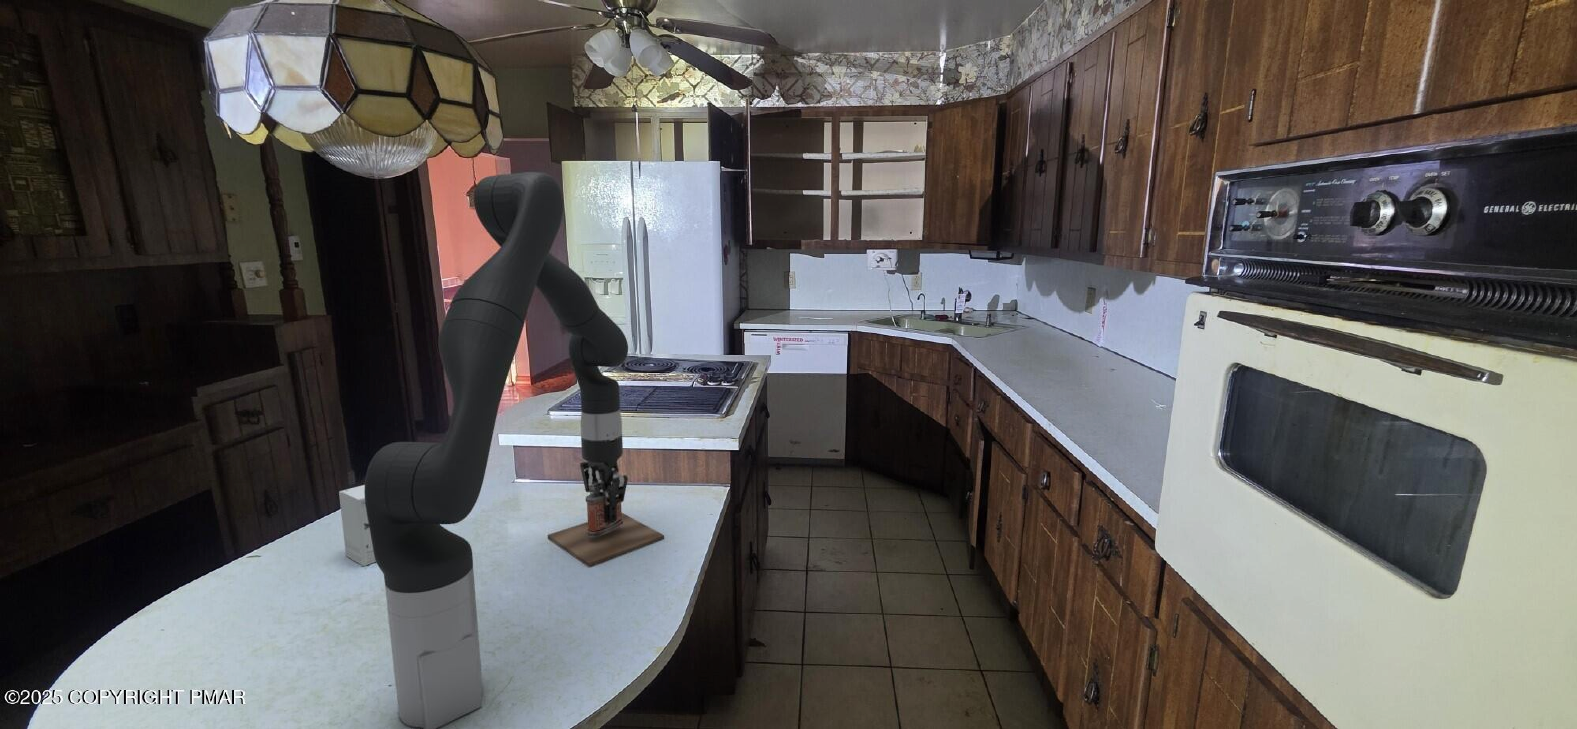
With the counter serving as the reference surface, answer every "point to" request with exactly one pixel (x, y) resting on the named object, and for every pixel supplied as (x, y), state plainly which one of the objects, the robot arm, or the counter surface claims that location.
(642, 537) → the board
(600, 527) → the lighter
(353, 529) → the supplement box
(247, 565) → the counter surface
